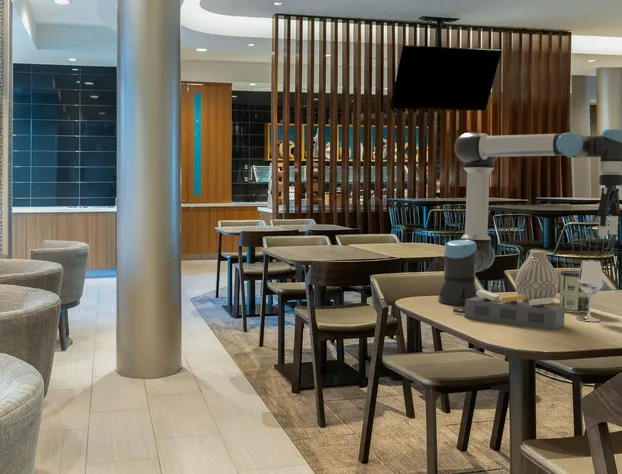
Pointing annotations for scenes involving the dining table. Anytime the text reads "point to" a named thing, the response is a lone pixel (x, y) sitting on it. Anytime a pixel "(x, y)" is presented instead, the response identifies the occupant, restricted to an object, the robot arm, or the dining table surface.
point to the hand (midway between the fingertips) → (608, 235)
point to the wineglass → (590, 283)
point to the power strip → (514, 313)
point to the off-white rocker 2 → (541, 301)
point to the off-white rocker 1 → (488, 295)
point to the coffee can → (572, 293)
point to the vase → (536, 277)
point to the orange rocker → (513, 298)
